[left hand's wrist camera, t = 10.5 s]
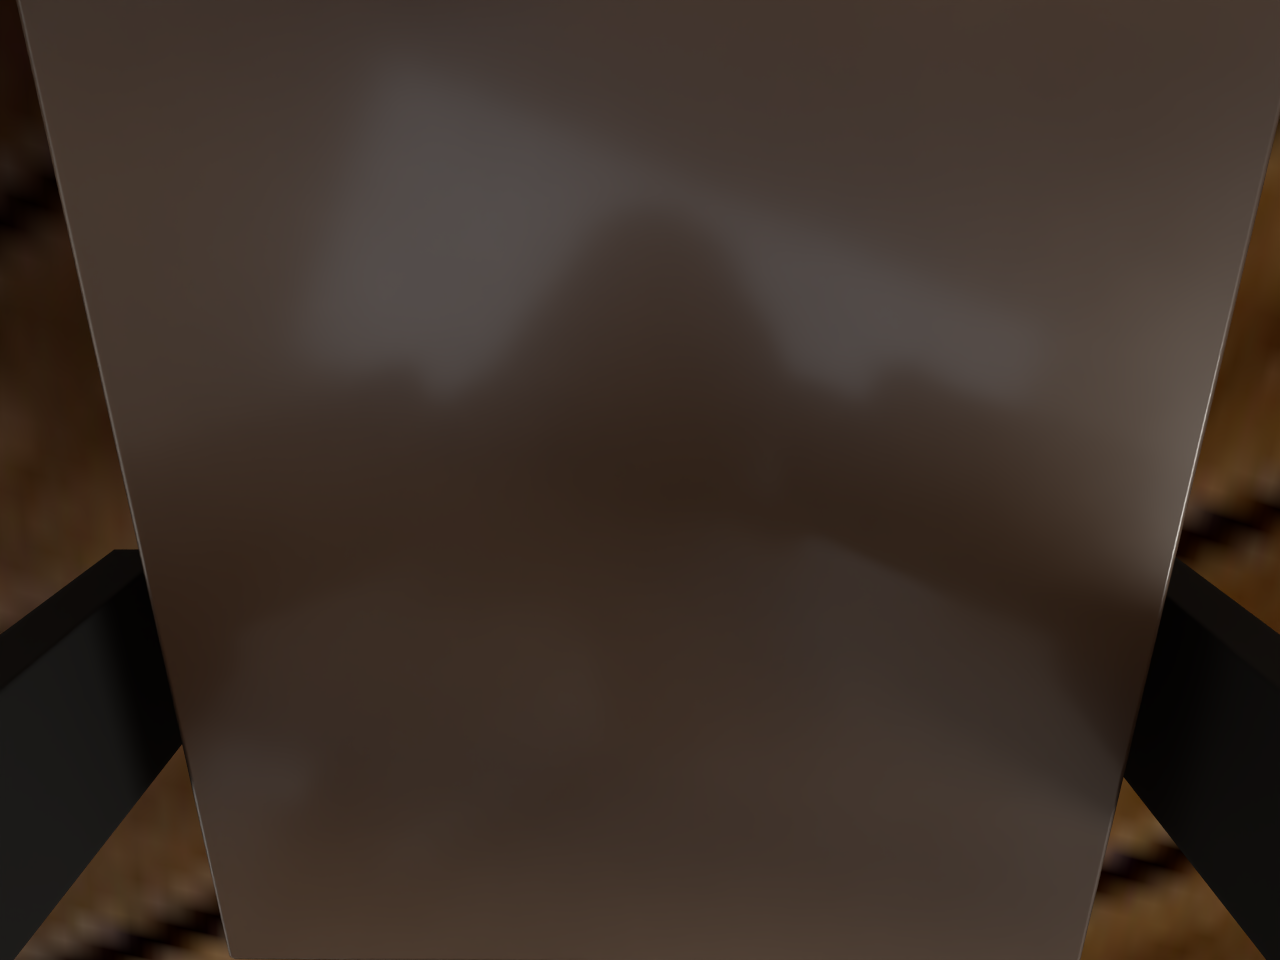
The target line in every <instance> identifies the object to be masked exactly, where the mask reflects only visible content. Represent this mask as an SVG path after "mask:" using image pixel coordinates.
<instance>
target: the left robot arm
mask: <svg viewBox="0 0 1280 960" xmlns="http://www.w3.org/2000/svg"><path fill="white" fill-rule="evenodd" d="M181 745H182V740H181V736H180V731H179V727H178V722H177V718H176V714H175V709H174V705H173V700H172V696H171V691H170V687H169V682H168V678H167V673H166V669H165V664H164V660H163V655H162V651H161V646H160V642H159V637H158V633H157V629H156V624H155V620H154V615H153V611H152V606H151V602H150V597H149V593H148V588H147V584H146V579H145V575H144V570H143V566H142V561H141V557H140V552H139V550H113V551H112V552H110V553H109V554H108V555H106V556H105V557H104V558H102V559H101V560H100V561H98V562H97V563H96V564H94V565H93V566H92V567H90V568H89V569H88V570H86V571H85V572H84V573H82V574H81V575H80V576H78V577H77V578H76V579H74V580H73V581H72V582H70V583H69V584H68V585H66V586H65V587H64V588H62V589H61V590H60V591H58V592H57V593H56V594H54V595H53V596H52V597H50V598H49V599H48V600H46V601H45V602H44V603H42V604H41V605H39V606H38V607H37V608H35V609H34V610H33V611H31V612H30V613H29V614H27V615H26V616H25V617H23V618H22V619H21V620H19V621H18V622H17V623H15V624H14V625H13V626H11V627H10V628H9V629H7V630H6V631H5V632H3V633H2V634H1V635H0V960H14V959H15V957H16V956H17V955H18V954H19V952H20V951H21V950H22V948H23V947H24V946H25V945H26V943H27V942H28V941H29V939H30V938H31V937H32V936H33V934H34V933H35V932H36V930H37V929H38V928H39V927H40V925H41V924H42V923H43V921H44V920H45V919H46V918H47V916H48V915H49V914H50V913H51V911H52V910H53V909H54V907H55V906H56V905H57V904H58V902H59V901H60V900H61V898H62V897H63V896H64V895H65V893H66V892H67V891H68V889H69V888H70V887H71V886H72V884H73V883H74V882H75V880H76V879H77V878H78V877H79V875H80V874H81V873H82V872H83V870H84V869H85V868H86V866H87V865H88V864H89V863H90V861H91V860H92V859H93V857H94V856H95V855H96V854H97V852H98V851H99V850H100V848H101V847H102V846H103V845H104V843H105V842H106V841H107V839H108V838H109V837H110V836H111V834H112V833H113V832H114V831H115V829H116V828H117V827H118V825H119V824H120V823H121V822H122V820H123V819H124V818H125V816H126V815H127V814H128V813H129V811H130V810H131V809H132V807H133V806H134V805H135V804H136V802H137V801H138V800H139V798H140V797H141V796H142V795H143V793H144V792H145V791H146V789H147V788H148V787H149V786H150V784H151V783H152V782H153V781H154V779H155V778H156V777H157V775H158V774H159V773H160V772H161V770H162V769H163V768H164V766H165V765H166V764H167V763H168V761H169V760H170V759H171V757H172V756H173V755H174V754H175V752H176V751H177V750H178V748H179V747H180V746H181ZM1123 777H1124V778H1125V779H1126V781H1127V782H1128V783H1129V784H1130V786H1131V787H1132V788H1133V789H1134V791H1135V792H1136V793H1137V795H1138V796H1139V797H1140V798H1141V800H1142V801H1143V802H1144V804H1145V805H1146V806H1147V807H1148V809H1149V810H1150V811H1151V813H1152V814H1153V815H1154V816H1155V818H1156V819H1157V820H1158V822H1159V823H1160V824H1161V825H1162V827H1163V828H1164V829H1165V831H1166V832H1167V833H1168V834H1169V836H1170V837H1171V838H1172V839H1173V841H1174V842H1175V843H1176V845H1177V846H1178V847H1179V848H1180V850H1181V851H1182V852H1183V854H1184V855H1185V856H1186V857H1187V859H1188V860H1189V861H1190V863H1191V864H1192V865H1193V866H1194V868H1195V869H1196V870H1197V872H1198V873H1199V874H1200V875H1201V877H1202V878H1203V879H1204V880H1205V882H1206V883H1207V884H1208V886H1209V887H1210V888H1211V889H1212V891H1213V892H1214V893H1215V895H1216V896H1217V897H1218V898H1219V900H1220V901H1221V902H1222V904H1223V905H1224V906H1225V907H1226V909H1227V910H1228V911H1229V913H1230V914H1231V915H1232V916H1233V918H1234V919H1235V920H1236V921H1237V923H1238V924H1239V925H1240V927H1241V928H1242V929H1243V930H1244V932H1245V933H1246V934H1247V936H1248V937H1249V938H1250V939H1251V941H1252V942H1253V943H1254V945H1255V946H1256V947H1257V948H1258V950H1259V951H1260V952H1261V954H1262V955H1263V956H1264V957H1265V959H1266V960H1280V635H1279V634H1278V633H1277V632H1275V631H1274V630H1273V629H1271V628H1270V627H1269V626H1267V625H1266V624H1265V623H1263V622H1262V621H1261V620H1259V619H1258V618H1257V617H1255V616H1254V615H1253V614H1251V613H1250V612H1249V611H1247V610H1246V609H1245V608H1243V607H1242V606H1240V605H1239V604H1238V603H1236V602H1235V601H1234V600H1232V599H1231V598H1230V597H1228V596H1227V595H1226V594H1224V593H1223V592H1222V591H1220V590H1219V589H1218V588H1216V587H1215V586H1214V585H1212V584H1211V583H1210V582H1208V581H1207V580H1206V579H1204V578H1203V577H1202V576H1200V575H1199V574H1198V573H1196V572H1195V571H1194V570H1192V569H1191V568H1190V567H1188V566H1187V565H1186V564H1184V563H1183V562H1182V561H1180V560H1179V559H1178V558H1176V557H1175V560H1174V565H1173V569H1172V573H1171V577H1170V582H1169V586H1168V590H1167V594H1166V599H1165V603H1164V607H1163V611H1162V616H1161V620H1160V624H1159V628H1158V632H1157V637H1156V641H1155V645H1154V649H1153V654H1152V658H1151V662H1150V666H1149V671H1148V675H1147V679H1146V683H1145V687H1144V692H1143V696H1142V700H1141V704H1140V709H1139V713H1138V717H1137V721H1136V726H1135V730H1134V734H1133V738H1132V742H1131V747H1130V751H1129V755H1128V759H1127V764H1126V768H1125V772H1124V776H1123Z"/></svg>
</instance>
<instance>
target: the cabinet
mask: <svg viewBox="0 0 1280 960" xmlns="http://www.w3.org/2000/svg"><path fill="white" fill-rule="evenodd" d="M16 2H17V7H18V11H19V16H20V20H21V24H22V29H23V33H24V38H25V42H26V47H27V51H28V56H29V60H30V65H31V69H32V74H33V78H34V83H35V87H36V92H37V96H38V101H39V105H40V109H41V114H42V118H43V123H44V127H45V132H46V136H47V141H48V145H49V150H50V154H51V159H52V163H53V168H54V172H55V177H56V181H57V186H58V190H59V194H60V199H61V203H62V208H63V212H64V217H65V221H66V226H67V230H68V235H69V239H70V244H71V248H72V253H73V257H74V262H75V266H76V271H77V275H78V279H79V284H80V288H81V293H82V297H83V302H84V306H85V311H86V315H87V320H88V324H89V329H90V333H91V338H92V342H93V347H94V351H95V356H96V360H97V365H98V369H99V373H100V378H101V382H102V387H103V391H104V396H105V400H106V405H107V409H108V414H109V418H110V423H111V427H112V432H113V436H114V441H115V445H116V450H117V454H118V458H119V463H120V467H121V472H122V476H123V481H124V485H125V490H126V494H127V499H128V503H129V508H130V512H131V517H132V521H133V526H134V530H135V535H136V539H137V543H138V548H139V552H140V557H141V561H142V566H143V570H144V575H145V579H146V584H147V588H148V593H149V597H150V602H151V606H152V611H153V615H154V620H155V624H156V629H157V633H158V637H159V642H160V646H161V651H162V655H163V660H164V664H165V669H166V673H167V678H168V682H169V687H170V691H171V696H172V700H173V705H174V709H175V714H176V718H177V722H178V727H179V731H180V736H181V740H182V745H183V749H184V754H185V758H186V763H187V767H188V772H189V776H190V781H191V785H192V790H193V794H194V799H195V803H196V807H197V812H198V816H199V821H200V825H201V830H202V834H203V839H204V843H205V848H206V852H207V857H208V861H209V866H210V870H211V875H212V879H213V884H214V888H215V893H216V897H217V901H218V906H219V910H220V915H221V919H222V924H223V928H224V933H225V937H226V942H227V946H228V951H229V955H230V957H231V958H234V959H359V960H1080V958H1081V954H1082V950H1083V946H1084V941H1085V937H1086V933H1087V929H1088V924H1089V920H1090V916H1091V912H1092V907H1093V903H1094V899H1095V895H1096V891H1097V886H1098V882H1099V878H1100V874H1101V869H1102V865H1103V861H1104V857H1105V852H1106V848H1107V844H1108V840H1109V836H1110V831H1111V827H1112V823H1113V819H1114V814H1115V810H1116V806H1117V802H1118V797H1119V793H1120V789H1121V785H1122V781H1123V776H1124V772H1125V768H1126V764H1127V759H1128V755H1129V751H1130V747H1131V742H1132V738H1133V734H1134V730H1135V726H1136V721H1137V717H1138V713H1139V709H1140V704H1141V700H1142V696H1143V692H1144V687H1145V683H1146V679H1147V675H1148V671H1149V666H1150V662H1151V658H1152V654H1153V649H1154V645H1155V641H1156V637H1157V632H1158V628H1159V624H1160V620H1161V616H1162V611H1163V607H1164V603H1165V599H1166V594H1167V590H1168V586H1169V582H1170V577H1171V573H1172V569H1173V565H1174V560H1175V556H1176V552H1177V548H1178V544H1179V539H1180V535H1181V531H1182V527H1183V522H1184V518H1185V514H1186V510H1187V505H1188V501H1189V497H1190V493H1191V489H1192V484H1193V480H1194V476H1195V472H1196V467H1197V463H1198V459H1199V455H1200V450H1201V446H1202V442H1203V438H1204V434H1205V429H1206V425H1207V421H1208V417H1209V412H1210V408H1211V404H1212V400H1213V395H1214V391H1215V387H1216V383H1217V379H1218V374H1219V370H1220V366H1221V362H1222V357H1223V353H1224V349H1225V345H1226V340H1227V336H1228V332H1229V328H1230V324H1231V319H1232V315H1233V311H1234V307H1235V302H1236V298H1237V294H1238V290H1239V285H1240V281H1241V277H1242V273H1243V269H1244V264H1245V260H1246V256H1247V252H1248V247H1249V243H1250V239H1251V235H1252V230H1253V226H1254V222H1255V218H1256V214H1257V209H1258V205H1259V201H1260V197H1261V192H1262V188H1263V184H1264V180H1265V175H1266V171H1267V167H1268V163H1269V159H1270V154H1271V150H1272V146H1273V142H1274V137H1275V133H1276V129H1277V125H1278V120H1279V116H1280V0H16Z"/></svg>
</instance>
